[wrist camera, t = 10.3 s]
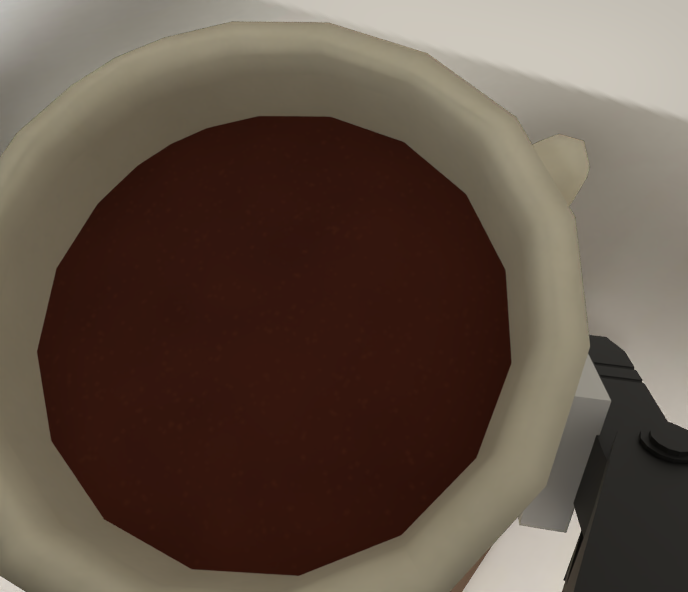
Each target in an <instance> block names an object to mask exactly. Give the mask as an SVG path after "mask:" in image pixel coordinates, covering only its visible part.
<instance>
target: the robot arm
mask: <svg viewBox="0 0 688 592" xmlns="http://www.w3.org/2000/svg"><path fill="white" fill-rule="evenodd" d="M589 340H590V349H589V352H588V355H587V358H586V361H585V364H584V368H583V371H582V374H581V377H580V380H579V383H578V387H577V390H576V393H575V396H574V399H573V402H572V406H571V409H570V412H569V415H568V418H567V421H566V425H565V428H564V431H563V434H562V437H561V440H560V444H559V447H558V450H557V453H556V456H555V459H554V463H553V466H552V469H551V472H550V475H549V478H548V482H547V485H546V487H545V488H544V489H543V490H542V491H541V492H540V493H539V494H538V495H537V496H536V498H535V499H534V500H533V501H532V502H531V503H530V504H529V505H528V506H527V507H526V509H525V510H524V511H523V512H522V513H521V514H520V515H519V516H518V519H519V525H522V526H528V527H534V528H540V529H547V530H553V531H559V532H565V533H566V532H567V529H568V526H569V523H570V520H571V517H572V514H573V511H574V508H575V510H576V514H577V517H578V521H579V524H580V527H581V533H580V536H579V539H578V541H577V544H576V547H575V550H574V552H573V555H572V558H571V561H570V564H569V566H568V569H567V572H566V575H565V577H564V581H565V584H564V587H563V591H562V592H688V430H686V429H684V428H682V427H680V426H677V425H675V424H673V423H670V422H668V421H667V420H666V418H665V416H664V415H663V413H662V412H661V410H660V408H659V407H658V405H657V403H656V402H655V400H654V398H653V397H652V395H651V394H650V392H649V390H648V389H647V387H646V385H645V384H644V383H642V379H641V377H640V376H639V374H638V372H637V371H636V370H634V366H633V364H632V363H631V361H630V359H629V358H628V356H627V354H626V353H625V351H623V350H622V349H621V348H619V347H618V346H617V345H616V344H614V343H613V342H612V341H610V340H609V339H608V338H607V337H601V336H592V335H589Z"/></svg>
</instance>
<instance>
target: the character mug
mask: <svg viewBox="0 0 688 592" xmlns="http://www.w3.org/2000/svg"><path fill="white" fill-rule="evenodd" d="M589 168H590V166H589V161H588V157H587V152H586V148H585V143H584V141H582V140H579V139H575V138H572V137H568V136H564V135H561V134H557V135H555V136H552V137H549V138H547V139H544V140H541V141H539V142H537V143H535V144H533V145H532V143H531V142H530V140H529V138H528V136H527V135H526V133H525V131H524V130H523V128H522V126H521V125H520V123H519V121H518V120H517V118H516V117H515V116H514V115H512V114H511V113H509V112H508V111H507V110H505V109H504V108H503V107H501V106H500V105H498V104H497V103H496V102H494V101H493V100H491V99H490V98H489V97H487V96H486V95H484V94H483V93H482V92H480V91H479V90H478V89H476V88H475V87H473V86H472V85H471V84H469V83H468V82H466V81H465V80H464V79H462V78H461V77H459V76H458V75H457V74H455V73H454V72H453V71H451V70H450V69H448V68H447V67H446V66H444V65H443V64H441V63H440V62H439V61H437V60H436V59H434V58H433V57H432V56H430V55H429V54H428V53H425V52H421V51H418V50H415V49H412V48H409V47H405V46H402V45H399V44H396V43H392V42H389V41H386V40H383V39H379V38H376V37H373V36H370V35H367V34H363V33H360V32H357V31H354V30H350V29H347V28H344V27H341V26H338V25H334V24H331V23H318V22H228V23H224V24H220V25H216V26H211V27H207V28H203V29H199V30H195V31H190V32H186V33H182V34H178V35H173V36H169V37H165V38H162V39H160V40H157V41H155V42H152V43H150V44H147V45H145V46H142V47H140V48H138V49H135V50H133V51H130V52H128V53H125V54H123V55H120V56H118V57H116V58H114V59H113V60H111V61H109V62H108V63H106V64H105V65H103V66H101V67H100V68H98V69H97V70H95V71H93V72H92V73H90V74H89V75H87V76H85V77H84V78H82V79H81V80H79V81H77V82H76V83H74V84H73V85H71V86H70V87H69V88H68V89H67V90H66V91H65V92H63V93H62V94H61V95H60V96H59V97H58V98H57V99H55V100H54V101H53V102H52V103H51V104H50V105H49V106H47V107H46V108H45V109H44V110H43V111H42V112H40V113H39V114H38V115H37V116H36V117H35V118H34V119H32V120H31V121H30V122H29V123H28V124H27V125H26V126H24V127H23V128H22V129H21V130H20V131H19V132H18V133H17V134H16V135H15V137H14V138H13V139H12V141H11V142H10V144H9V145H8V147H7V148H6V150H5V151H4V153H3V154H2V155H1V157H0V576H2V577H3V578H5V579H6V580H8V581H9V582H11V583H13V584H14V585H16V586H17V587H19V588H21V589H22V590H24V591H25V592H450V591H451V590H452V589H453V588H454V587H455V585H456V584H457V583H458V582H459V581H460V580H461V579H462V578H463V577H464V576H465V574H466V573H467V572H468V571H469V570H470V569H471V568H472V567H473V566H474V565H475V563H476V562H477V561H478V560H479V559H480V558H481V557H482V556H483V555H484V554H485V552H486V551H487V550H488V549H489V548H490V547H491V546H492V545H493V544H494V543H495V542H496V540H497V539H498V538H499V537H500V536H501V535H502V534H503V533H504V532H505V531H506V529H507V528H508V527H509V526H510V525H511V524H512V523H513V522H514V521H515V520H516V518H517V517H518V516H519V515H520V514H521V513H522V512H523V511H524V510H525V509H526V507H527V506H528V505H529V504H530V503H531V502H532V501H533V500H534V499H535V498H536V496H537V495H538V494H539V493H540V492H541V491H542V490H543V489H544V488H545V487H546V485H547V482H548V478H549V475H550V472H551V469H552V466H553V463H554V459H555V456H556V453H557V450H558V447H559V444H560V440H561V437H562V434H563V431H564V428H565V425H566V421H567V418H568V415H569V412H570V409H571V406H572V402H573V399H574V396H575V393H576V390H577V387H578V383H579V380H580V377H581V374H582V371H583V368H584V364H585V361H586V358H587V355H588V352H589V349H590V340H589V331H588V322H587V314H586V305H585V297H584V288H583V279H582V271H581V262H580V254H579V245H578V236H577V228H576V219H575V216H574V214H573V213H572V211H571V209H570V208H569V206H570V205H571V203H572V202H573V200H574V198H575V197H576V195H577V193H578V192H579V190H580V188H581V187H582V185H583V183H584V181H585V180H586V178H587V175H588V171H589Z"/></svg>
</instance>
